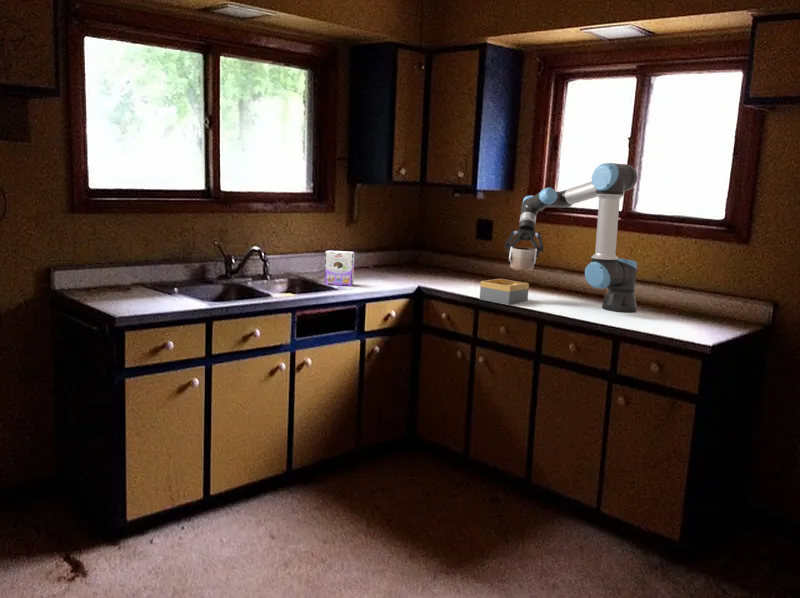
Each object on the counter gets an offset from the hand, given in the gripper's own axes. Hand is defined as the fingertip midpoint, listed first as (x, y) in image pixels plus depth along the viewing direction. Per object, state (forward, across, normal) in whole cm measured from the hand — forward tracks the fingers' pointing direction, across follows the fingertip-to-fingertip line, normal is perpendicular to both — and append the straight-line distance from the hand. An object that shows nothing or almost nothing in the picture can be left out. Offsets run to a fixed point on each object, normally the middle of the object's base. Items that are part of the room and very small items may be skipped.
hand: (522, 260), depth 343 cm
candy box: (+14, +88, -15) cm, 90 cm away
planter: (+1, 0, -5) cm, 5 cm away
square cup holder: (+15, +7, -12) cm, 20 cm away
